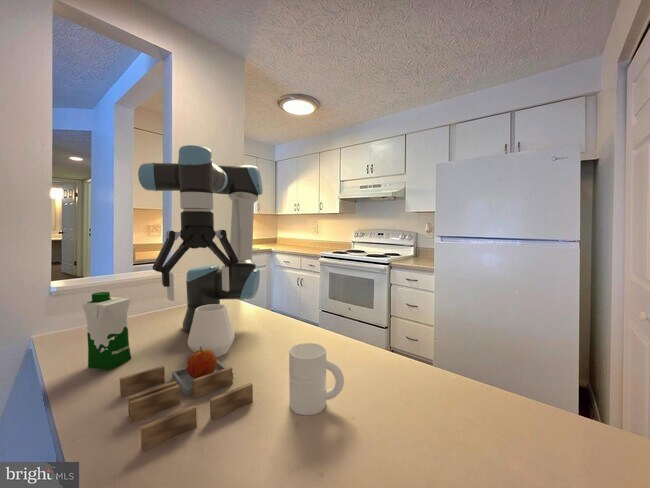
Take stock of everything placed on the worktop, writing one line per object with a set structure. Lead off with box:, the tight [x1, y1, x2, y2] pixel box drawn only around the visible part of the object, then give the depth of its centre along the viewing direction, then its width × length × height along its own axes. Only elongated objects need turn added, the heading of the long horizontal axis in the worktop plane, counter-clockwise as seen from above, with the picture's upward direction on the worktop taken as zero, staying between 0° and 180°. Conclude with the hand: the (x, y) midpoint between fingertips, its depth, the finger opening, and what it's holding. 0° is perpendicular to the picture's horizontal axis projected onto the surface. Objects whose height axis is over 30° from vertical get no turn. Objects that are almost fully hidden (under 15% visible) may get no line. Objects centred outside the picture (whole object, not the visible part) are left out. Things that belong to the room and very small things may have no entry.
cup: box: [187, 303, 235, 358], centre depth 89 cm, size 13×13×14 cm
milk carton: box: [82, 291, 132, 371], centre depth 81 cm, size 9×9×20 cm
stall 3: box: [192, 366, 254, 421], centre depth 65 cm, size 9×11×4 cm
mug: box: [288, 342, 345, 416], centre depth 63 cm, size 8×12×12 cm
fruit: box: [186, 347, 218, 379], centre depth 73 cm, size 7×7×8 cm
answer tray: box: [171, 358, 234, 398], centre depth 74 cm, size 11×11×2 cm
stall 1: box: [119, 365, 177, 419], centre depth 66 cm, size 9×11×4 cm
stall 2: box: [129, 385, 198, 453], centre depth 57 cm, size 9×11×4 cm
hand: (200, 294), depth 74 cm, fingers open, 13 cm apart
